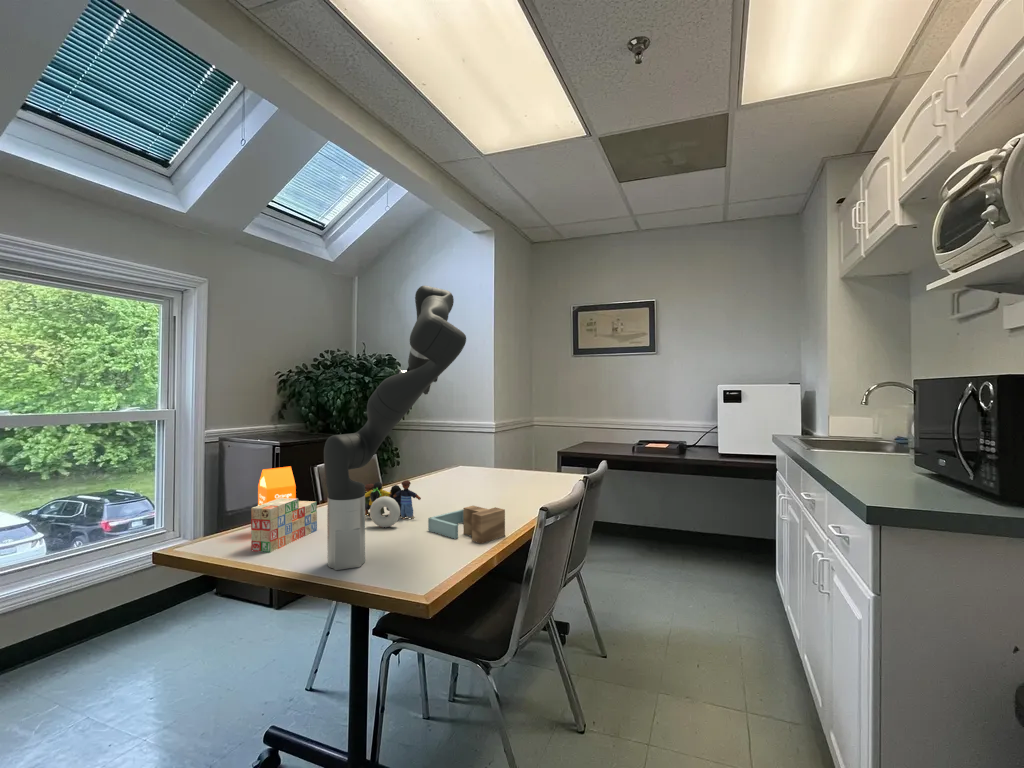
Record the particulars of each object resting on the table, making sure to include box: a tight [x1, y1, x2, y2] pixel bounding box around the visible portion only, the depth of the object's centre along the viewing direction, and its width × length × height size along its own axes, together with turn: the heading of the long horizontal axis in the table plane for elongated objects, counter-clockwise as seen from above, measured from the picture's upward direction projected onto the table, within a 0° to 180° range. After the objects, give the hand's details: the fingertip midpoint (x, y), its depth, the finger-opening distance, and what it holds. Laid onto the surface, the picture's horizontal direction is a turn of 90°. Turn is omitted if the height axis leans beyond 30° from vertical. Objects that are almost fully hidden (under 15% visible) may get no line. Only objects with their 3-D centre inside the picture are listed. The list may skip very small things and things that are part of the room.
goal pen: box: [427, 509, 463, 540], centre depth 155 cm, size 13×14×4 cm
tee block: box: [462, 505, 506, 544], centre depth 149 cm, size 11×10×8 cm
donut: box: [369, 496, 401, 528], centre depth 158 cm, size 10×4×10 cm, turn 84°
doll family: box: [365, 479, 422, 519], centre depth 171 cm, size 23×9×13 cm, turn 91°
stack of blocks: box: [250, 497, 318, 553], centre depth 145 cm, size 21×6×12 cm, turn 168°
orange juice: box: [257, 465, 297, 506], centre depth 154 cm, size 8×9×20 cm
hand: (413, 395), depth 152 cm, fingers open, 8 cm apart
